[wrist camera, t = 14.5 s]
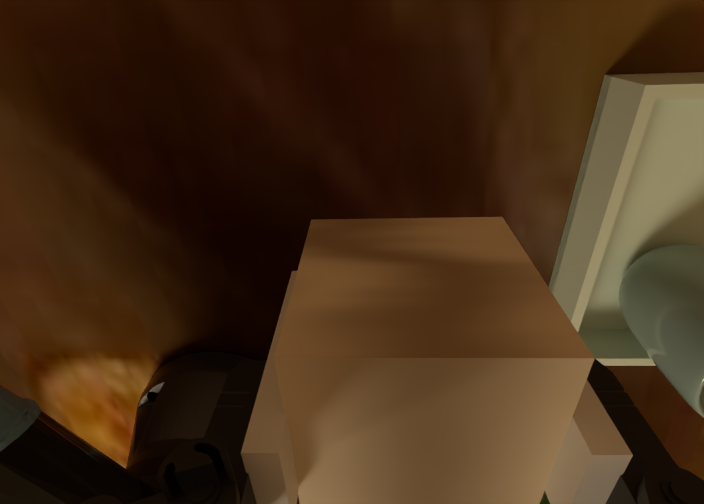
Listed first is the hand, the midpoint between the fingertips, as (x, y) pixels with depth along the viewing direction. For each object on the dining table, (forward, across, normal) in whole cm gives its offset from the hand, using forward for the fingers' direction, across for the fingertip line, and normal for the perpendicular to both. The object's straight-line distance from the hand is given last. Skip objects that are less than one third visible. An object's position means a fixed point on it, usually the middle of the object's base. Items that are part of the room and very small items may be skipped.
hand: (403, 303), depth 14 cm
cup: (+14, +20, -8) cm, 26 cm away
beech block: (0, 0, 0) cm, 0 cm away
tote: (+15, +20, -4) cm, 25 cm away
